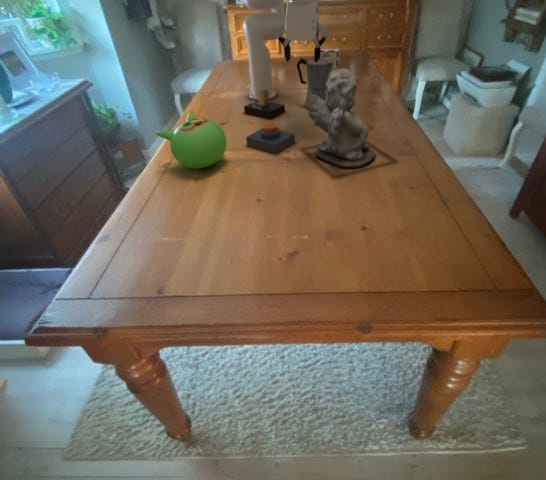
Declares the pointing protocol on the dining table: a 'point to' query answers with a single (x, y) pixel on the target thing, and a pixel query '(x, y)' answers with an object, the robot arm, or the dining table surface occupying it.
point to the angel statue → (340, 123)
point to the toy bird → (196, 142)
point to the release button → (269, 128)
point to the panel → (264, 110)
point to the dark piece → (270, 140)
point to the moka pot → (315, 76)
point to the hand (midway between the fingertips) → (302, 60)
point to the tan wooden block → (263, 98)
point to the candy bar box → (331, 58)
